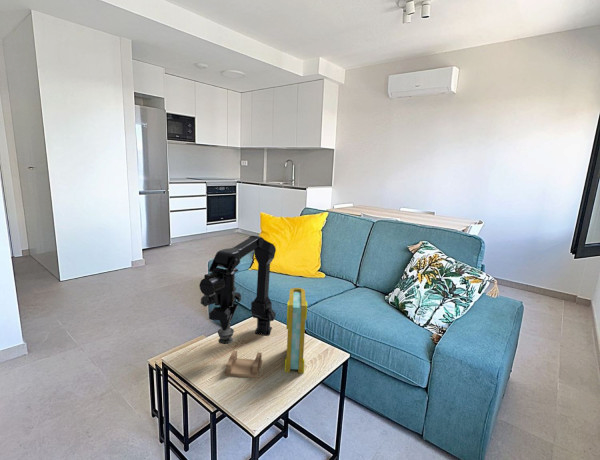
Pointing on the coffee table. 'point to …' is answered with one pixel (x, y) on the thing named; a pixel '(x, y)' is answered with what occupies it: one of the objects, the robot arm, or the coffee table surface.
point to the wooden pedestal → (243, 366)
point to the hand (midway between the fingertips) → (226, 327)
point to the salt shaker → (226, 335)
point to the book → (296, 330)
